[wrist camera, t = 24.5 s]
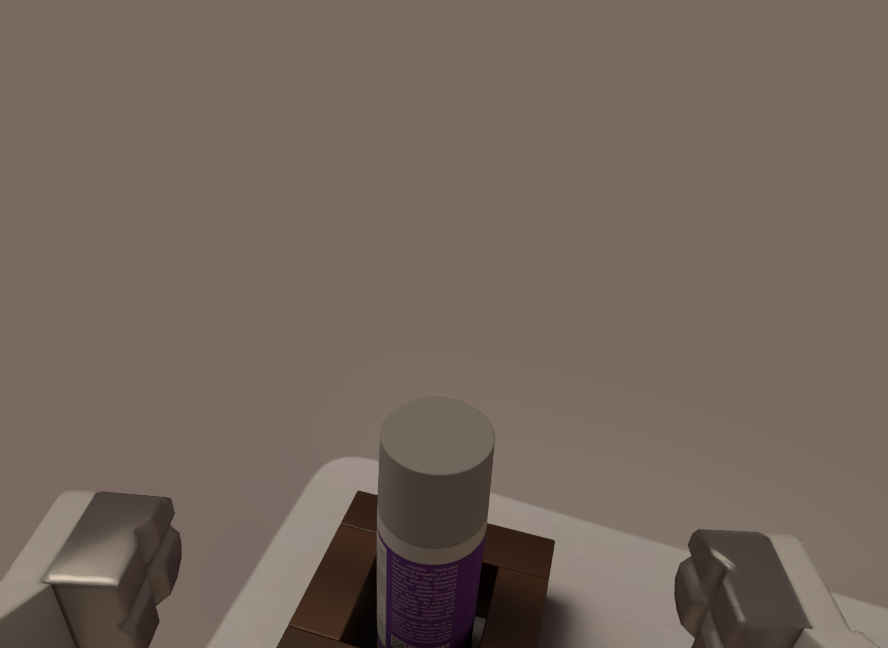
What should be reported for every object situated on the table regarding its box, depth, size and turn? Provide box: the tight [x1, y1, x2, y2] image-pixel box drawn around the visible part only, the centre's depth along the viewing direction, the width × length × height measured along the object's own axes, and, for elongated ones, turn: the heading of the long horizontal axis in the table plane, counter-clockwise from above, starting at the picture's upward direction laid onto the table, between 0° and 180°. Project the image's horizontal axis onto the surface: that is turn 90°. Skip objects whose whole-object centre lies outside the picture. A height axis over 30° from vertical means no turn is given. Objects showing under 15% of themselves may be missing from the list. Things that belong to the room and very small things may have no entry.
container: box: [377, 397, 495, 648], centre depth 30 cm, size 5×5×15 cm
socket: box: [277, 491, 555, 648], centre depth 32 cm, size 11×11×4 cm
